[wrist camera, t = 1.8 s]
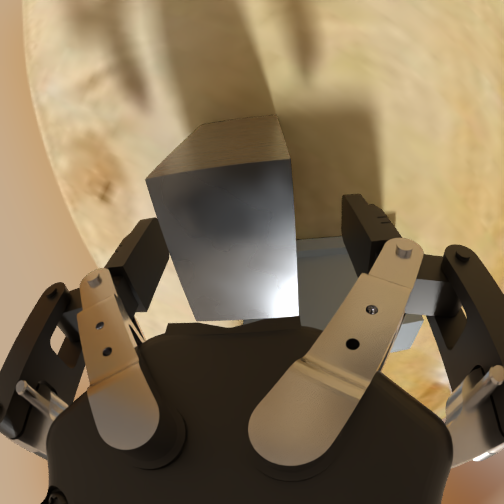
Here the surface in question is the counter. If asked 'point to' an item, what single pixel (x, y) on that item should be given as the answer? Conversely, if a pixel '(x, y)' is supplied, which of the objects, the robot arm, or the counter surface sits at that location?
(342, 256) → the vise base
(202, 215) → the block
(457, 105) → the counter surface
